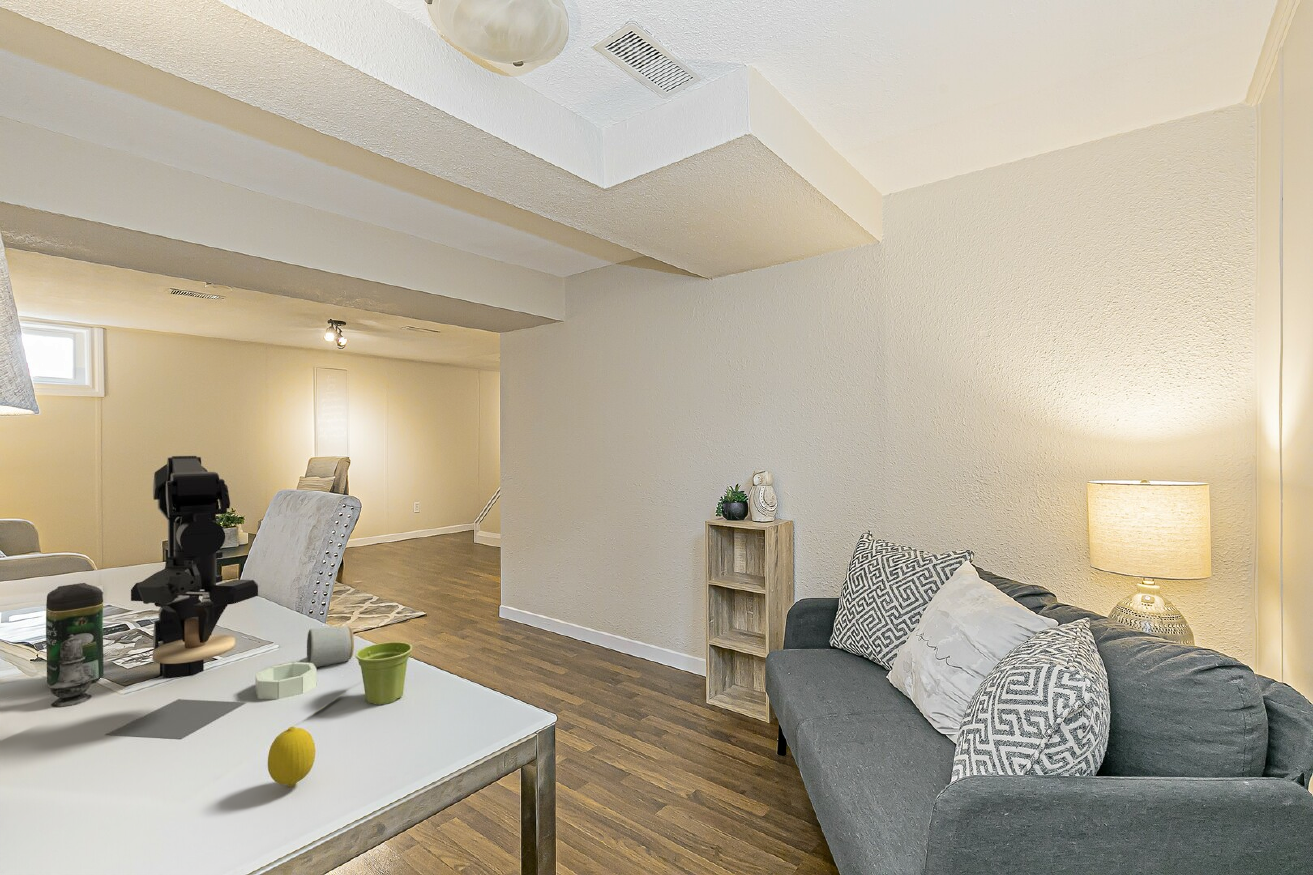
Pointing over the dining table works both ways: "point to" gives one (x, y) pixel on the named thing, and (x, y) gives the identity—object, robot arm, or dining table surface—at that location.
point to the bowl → (285, 680)
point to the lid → (193, 646)
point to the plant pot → (384, 670)
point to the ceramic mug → (329, 645)
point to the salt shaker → (71, 676)
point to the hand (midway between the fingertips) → (195, 641)
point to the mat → (177, 719)
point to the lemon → (291, 756)
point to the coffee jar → (75, 627)
